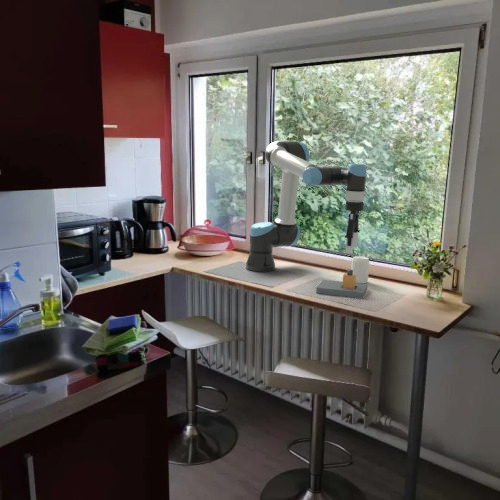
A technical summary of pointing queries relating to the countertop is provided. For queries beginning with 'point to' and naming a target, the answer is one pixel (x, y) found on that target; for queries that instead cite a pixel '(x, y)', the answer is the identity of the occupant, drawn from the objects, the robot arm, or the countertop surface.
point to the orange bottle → (349, 280)
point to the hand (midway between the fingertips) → (351, 250)
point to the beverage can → (360, 268)
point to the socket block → (341, 289)
